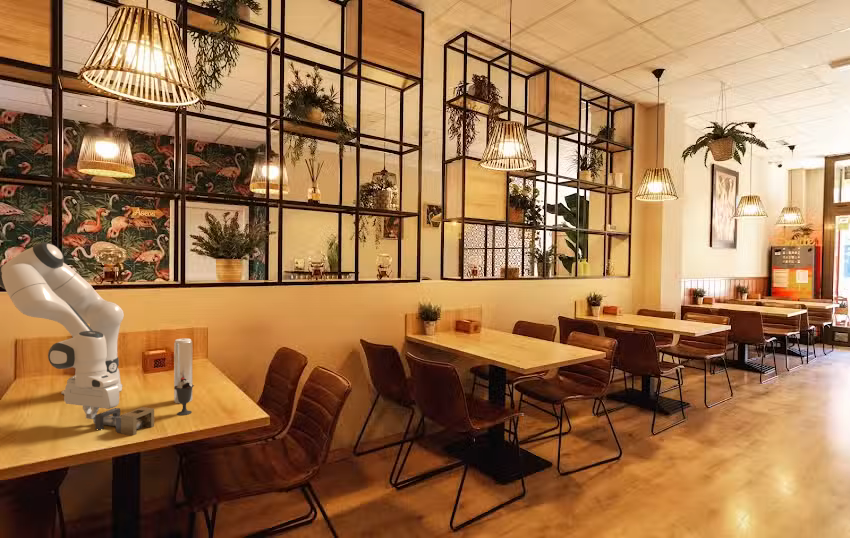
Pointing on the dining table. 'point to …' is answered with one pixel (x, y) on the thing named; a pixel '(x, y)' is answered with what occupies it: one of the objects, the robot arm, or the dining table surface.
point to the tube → (112, 421)
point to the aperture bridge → (130, 420)
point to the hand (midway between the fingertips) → (91, 418)
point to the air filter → (182, 363)
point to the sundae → (184, 394)
